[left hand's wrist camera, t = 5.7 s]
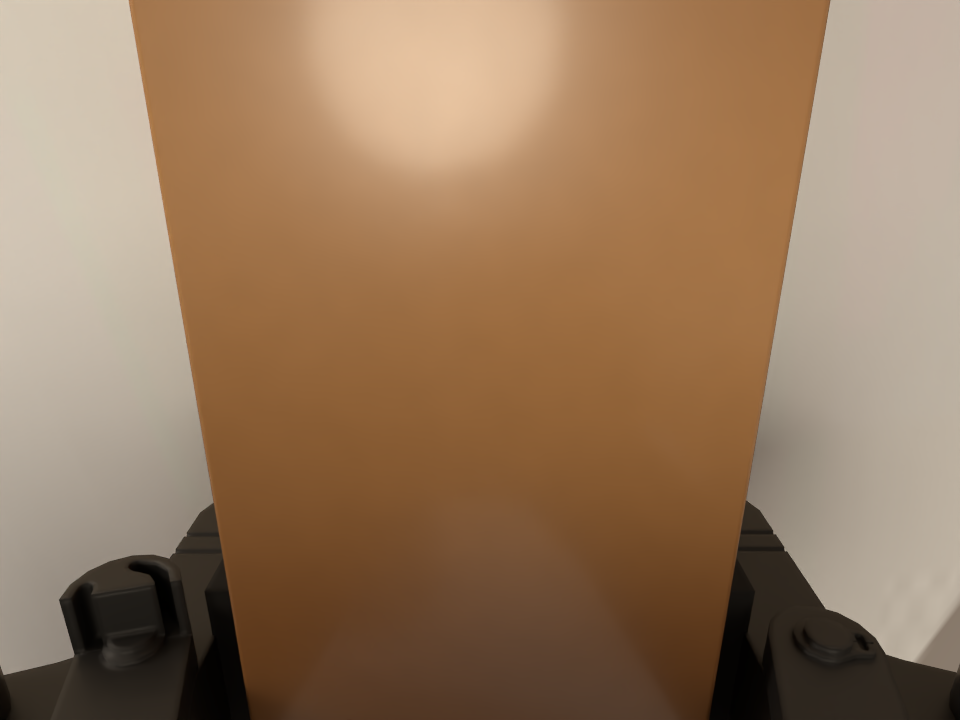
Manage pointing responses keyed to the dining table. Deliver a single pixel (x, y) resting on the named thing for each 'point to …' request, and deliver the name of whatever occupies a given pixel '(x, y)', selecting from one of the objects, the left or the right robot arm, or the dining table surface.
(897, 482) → the dining table surface
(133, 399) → the dining table surface
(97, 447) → the dining table surface
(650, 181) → the post
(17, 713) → the left robot arm
